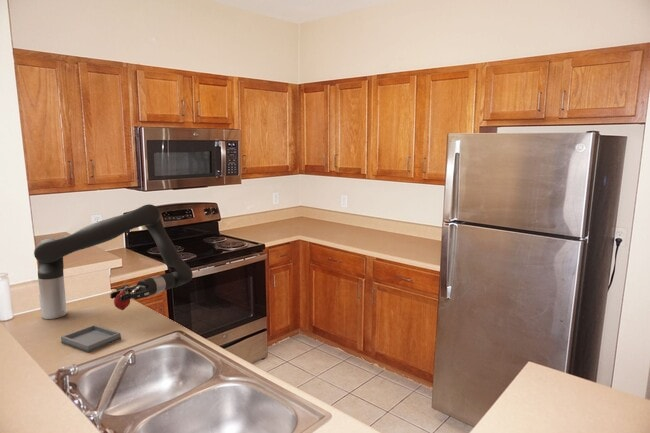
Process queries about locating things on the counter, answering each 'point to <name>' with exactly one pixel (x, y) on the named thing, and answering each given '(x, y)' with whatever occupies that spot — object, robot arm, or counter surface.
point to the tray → (90, 338)
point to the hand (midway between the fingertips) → (116, 297)
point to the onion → (121, 304)
